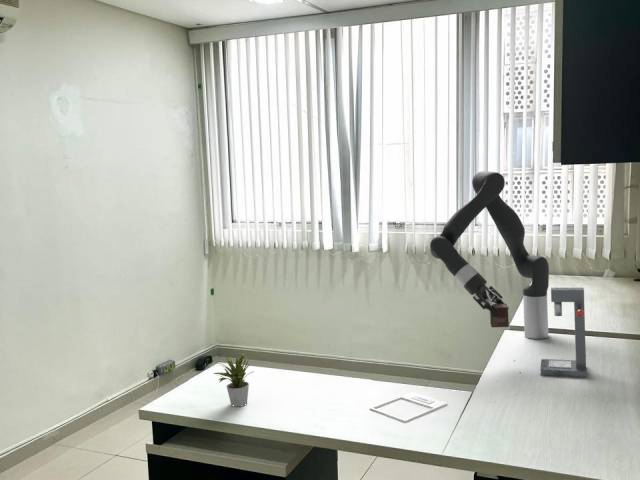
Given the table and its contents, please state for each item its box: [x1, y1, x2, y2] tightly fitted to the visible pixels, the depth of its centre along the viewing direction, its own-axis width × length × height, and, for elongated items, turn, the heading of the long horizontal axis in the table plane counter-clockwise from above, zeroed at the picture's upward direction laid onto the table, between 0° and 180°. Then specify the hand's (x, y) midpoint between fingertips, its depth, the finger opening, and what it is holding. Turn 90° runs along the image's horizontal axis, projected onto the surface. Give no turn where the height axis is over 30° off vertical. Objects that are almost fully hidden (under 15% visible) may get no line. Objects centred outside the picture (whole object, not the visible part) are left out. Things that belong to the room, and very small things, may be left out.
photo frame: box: [369, 391, 448, 423], centre depth 180 cm, size 15×1×18 cm
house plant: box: [213, 351, 253, 407], centre depth 193 cm, size 14×14×16 cm
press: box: [539, 287, 588, 379], centre depth 199 cm, size 17×14×28 cm
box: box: [489, 303, 510, 328], centre depth 215 cm, size 6×6×7 cm
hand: (502, 312), depth 214 cm, fingers closed on box, 8 cm apart
